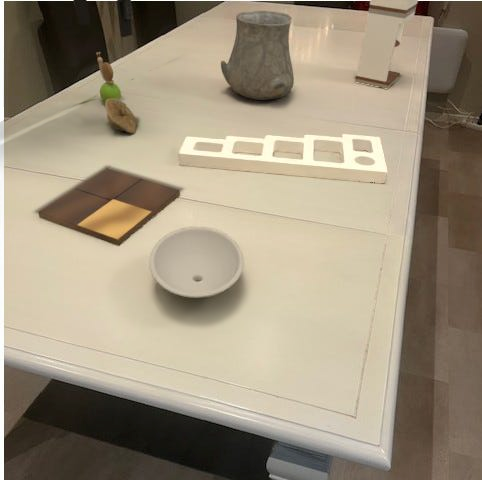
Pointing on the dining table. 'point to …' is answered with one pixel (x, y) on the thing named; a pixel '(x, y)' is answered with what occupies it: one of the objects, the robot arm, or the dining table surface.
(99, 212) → the board
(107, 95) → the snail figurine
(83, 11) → the robot arm
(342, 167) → the holder
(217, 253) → the dish
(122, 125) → the fossil
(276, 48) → the vessel
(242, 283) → the dining table surface
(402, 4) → the white square pillar
